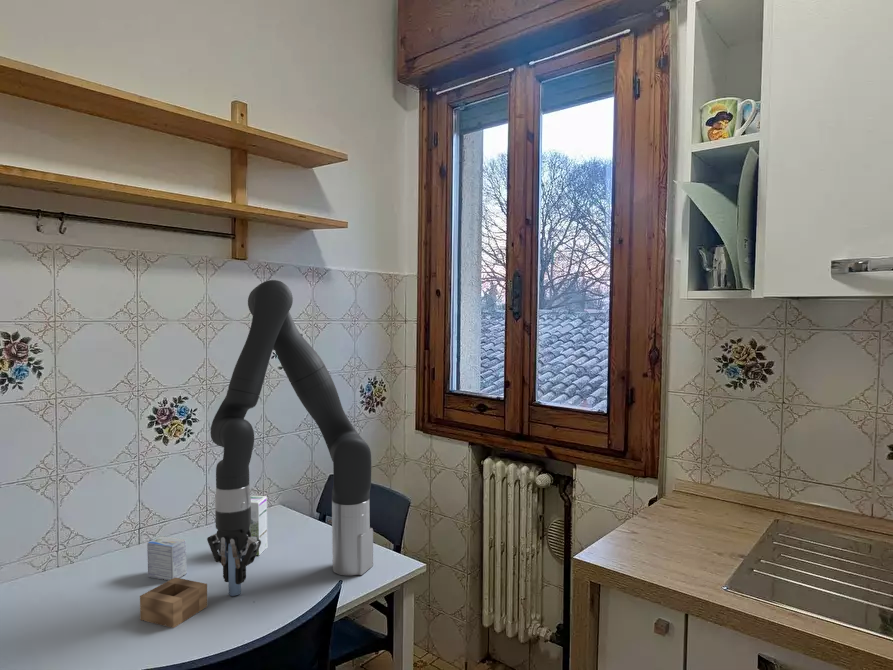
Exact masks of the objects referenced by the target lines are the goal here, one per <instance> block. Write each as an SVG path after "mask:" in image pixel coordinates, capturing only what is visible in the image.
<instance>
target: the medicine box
mask: <svg viewBox="0 0 893 670" xmlns="http://www.w3.org/2000/svg"><path fill="white" fill-rule="evenodd" d="M146 546H147V549H146V550H147V577H148V578H152V579H159V580H163V579H164V581H169V580H171V579H173V578H180V579H181V578H182V577H184V576H186V574H187V545H186V539H183V538H176V537H169V536H161V535H160V536H159V537H157V538H154V539H152V540H150V541H148V542H147V543H146ZM183 575H184V576H183Z"/></svg>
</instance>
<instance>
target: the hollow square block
mask: <svg viewBox="0 0 893 670" xmlns="http://www.w3.org/2000/svg"><path fill="white" fill-rule="evenodd" d="M204 608H205V609H206V608H208V583H205V582H200V581H194V580H191V579H184V578H181V577H180V578H173V579H171V580H166V581H165V582H164V583H162V584H160V585H158V586H156V587H155V588H152V589H150V590H148V591H146V592H145V593H143V594H141V595H139V615H140V616H139V618H140V619H139V620H140V621H143V620H144V621H143V622H147V623H151V624H156V625H160V626H163V627H168V628H172V629H174V628H176V627H177V626H180V625H181V624H182V623H184V622H185V621H187V620H189V619H190V618H192V617H193V616H195V615H197V614H198V613H200V612H201V611H202V610H205V609H204ZM199 611H200V612H199ZM196 613H197V614H196Z"/></svg>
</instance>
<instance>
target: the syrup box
mask: <svg viewBox="0 0 893 670" xmlns="http://www.w3.org/2000/svg"><path fill="white" fill-rule="evenodd" d="M249 530H250V533H251V537H252V538H253V539H255V540H258V539H259V540H261V545H260V547H259V550H258V552H257V554H256V555H258V556H261V555H262V554H263V553H264V552H265V551H266V550H267V549H268V547H269V545H268V497H267V495H251V524H250V527H249ZM247 547H248V543H247ZM265 549H266V550H265ZM247 550H248V549H247ZM264 550H265V551H264ZM263 551H264V552H263ZM262 552H263V553H262ZM261 553H262V554H261ZM260 554H261V555H260Z"/></svg>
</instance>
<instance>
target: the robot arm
mask: <svg viewBox="0 0 893 670" xmlns="http://www.w3.org/2000/svg"><path fill="white" fill-rule="evenodd" d="M247 297H248V298H247V307H248V310H249V312H250V314H251V316H252V319H251V323H250V328H249V331H248V334H247V337H246V340H245V343H244V346H243V348H242V350H241V352H240V354H239V357H238V359H237V361H236V363H235V364H234V365H235V366H234V368H233V371H232V374H231V378H230V382H229V384H228V388H227V391H226V396H225V397H224V399H223V401H221V404H220V405H219V408H218V409H217V411H216V413H215V414H214V418H213V419H212V422H211V424H210V431H209V432H210V438H211V441H212V442H213V443H214V444H215V445H217V446H218V447H221V448H223V455H222V456H223V457H222V460H219V461H218V462H217V464H216V467H215V487H216V488H215V497H214V506H215V507H214V509H215V510H214V512H215V515H214V516H215V517H214V519H215V529H216V533H214V534H212V535H210V536H208V537H207V538H206V540H207V541H206V542H207V543H208V546H209V549H210V551H211V554H212V556H213V558H214V561H215V562H216V563H220V564H221V566H222V577H223V579H224V582H225V583H229V580H228V545H229V544H231V546H232V554H233V558H235V564H236V568H235V574H236V584H241V585H242V583H244V582H245V581H246V579H247V566H249V565H251V564H253V562H254V561H255V559H256V554H257V552H258V550H259V547H260V545H261V540H259V539H258V540H255V539H253V538H252V537H251V533H250V530H249V527H250V524H251V496H252V495H251V494H252V493H251V488H250V467H249V466H250V463H251V460H252V455H253V450H254V445H255V433H254V427H253V426H252V424H251V423H250V421H248V420H247V419H245V417H246V414H247V412H248V411H249V410H250V409H253V408H255V407H256V405H257V404H258V402H259V398H260V395H261V391H262V387H263V385H264V382H265V381H264V380H265V378H266V375H267V370H268V366H269V363H270V359H271V356H272V353H273V350H274V351H275V354H276V356H277V359H278V361H279V364H280V365H281V367H282V369H283V371H284V373H285V375H286V376H287V379H288V381H289V383H290V385H291V386H292V389H293V390H294V392H295V394H296V396H297V398H298V399H299V401H300V402H301V404H302V405H303V408H305V410H306V411H307V412H308V414H309V415H310V417H311V418H312V419H313V421H314V422H315V424H316V426H317V427H318V429H319V430H320V433H321V435H322V437H323V440H324V442H325V445H326V446H327V447H326V448H327V450H328V452H329V455H330V458H331V462H332V464H333V469H332V470H333V472H332V473H333V474H332V475H333V480H332V481H333V484H332V485H333V486H332V490H331V524H332V525H331V530H332V531H331V534H332V535H331V538H332V539H331V541H332V542H331V544H332V548H331V549H332V552H331V553H332V571H333V573H335V574H337V575H341V576H347V577H348V576H357V575H358V576H362V575H364V574H365V573H366V572H367V571H368V570H370V569H371V568H372V567H373V566H374V529H373V527H371V526H370V524H371V523H370V515H371V514H370V513H371V512H370V493H371V492H370V491H371V488H372V452H371V448H370V446H369V444H368V443H367V441H365V440H364V439H363V437H361V435H360V434H359V433H358V432H357V430H356V428H355V426H353V424H352V423H351V421H350V420H349V418H348V416H347V415H346V412H345V411H344V408H343V405H342V403H341V399H340V397H339V393H338V390H337V388H336V386H335V385H336V384H335V383H334V380H333V378H332V376H331V374H330V373H329V372H330V371H329V370H328V368H327V367H326V365H325V363H324V362H323V359H322V358H321V357H320V355H319V354H318V352H317V351H315V349H314V348H313V346H311V345H310V343H309V342H308V341H307V340H306V339H305V338H304V337H303V335H302V334H301V332H300V330H299V329H298V328H297V326H296V324H295V322H294V320H293V318H292V317H293V316H292V315H291V313H290V311H291V308H292V307H293V301H294V300H293V299H294V298H293V294H292V290H291V289H290V288H289V286H288V285H287V284H286V283H284V282H283V281H282V280H281V281H280V280H276V279H270V280H266V281H263V282H260V284H258V285H256V287H254V288H253V289H252V290H251V291H250V292H249V295H248V296H247ZM247 543H248V547H247ZM247 549H248V550H247ZM239 551H240V552H239ZM238 552H239V553H238Z"/></svg>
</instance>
